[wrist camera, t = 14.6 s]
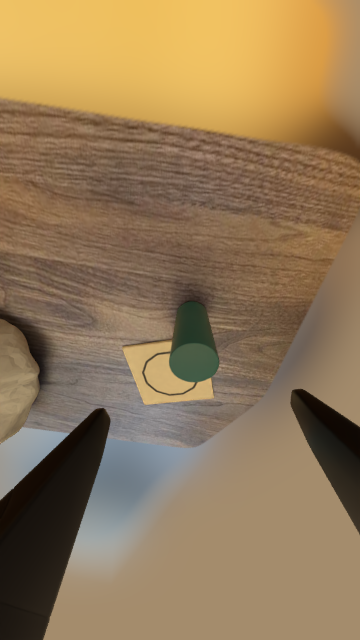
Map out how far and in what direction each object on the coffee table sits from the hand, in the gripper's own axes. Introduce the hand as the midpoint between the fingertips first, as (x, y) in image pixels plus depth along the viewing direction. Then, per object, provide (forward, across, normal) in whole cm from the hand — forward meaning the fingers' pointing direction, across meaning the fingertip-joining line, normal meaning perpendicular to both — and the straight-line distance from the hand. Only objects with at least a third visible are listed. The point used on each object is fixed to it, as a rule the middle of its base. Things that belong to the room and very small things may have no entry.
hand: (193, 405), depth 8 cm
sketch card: (+12, +4, +8) cm, 15 cm away
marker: (+12, 0, 0) cm, 12 cm away
